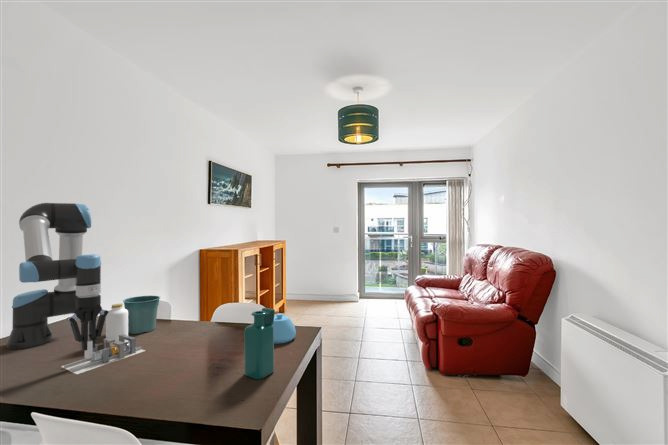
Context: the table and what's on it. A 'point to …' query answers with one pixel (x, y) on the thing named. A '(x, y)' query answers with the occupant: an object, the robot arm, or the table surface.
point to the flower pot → (141, 313)
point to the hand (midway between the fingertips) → (88, 357)
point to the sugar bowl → (283, 329)
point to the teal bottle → (259, 345)
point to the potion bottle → (116, 322)
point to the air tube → (112, 352)
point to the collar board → (106, 355)
